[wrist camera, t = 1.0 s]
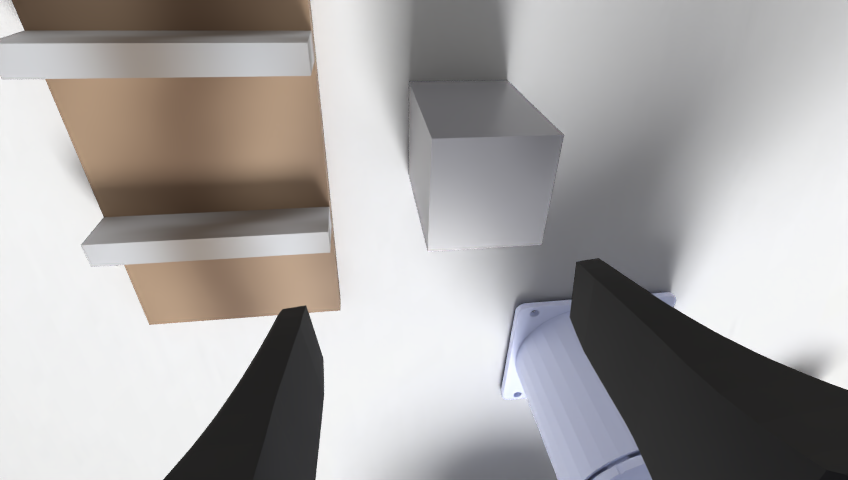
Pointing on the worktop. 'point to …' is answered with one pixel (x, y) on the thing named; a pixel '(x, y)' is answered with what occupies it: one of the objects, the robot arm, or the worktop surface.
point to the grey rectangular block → (480, 164)
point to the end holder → (193, 147)
